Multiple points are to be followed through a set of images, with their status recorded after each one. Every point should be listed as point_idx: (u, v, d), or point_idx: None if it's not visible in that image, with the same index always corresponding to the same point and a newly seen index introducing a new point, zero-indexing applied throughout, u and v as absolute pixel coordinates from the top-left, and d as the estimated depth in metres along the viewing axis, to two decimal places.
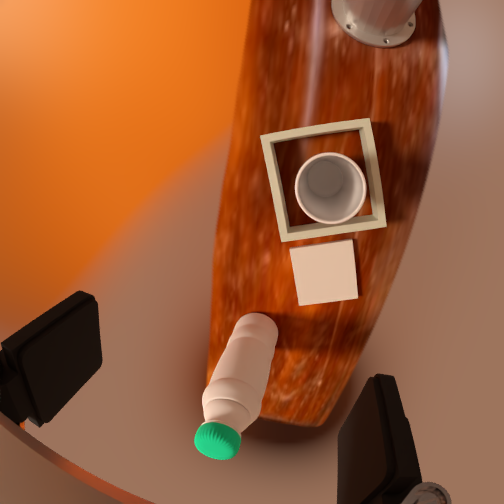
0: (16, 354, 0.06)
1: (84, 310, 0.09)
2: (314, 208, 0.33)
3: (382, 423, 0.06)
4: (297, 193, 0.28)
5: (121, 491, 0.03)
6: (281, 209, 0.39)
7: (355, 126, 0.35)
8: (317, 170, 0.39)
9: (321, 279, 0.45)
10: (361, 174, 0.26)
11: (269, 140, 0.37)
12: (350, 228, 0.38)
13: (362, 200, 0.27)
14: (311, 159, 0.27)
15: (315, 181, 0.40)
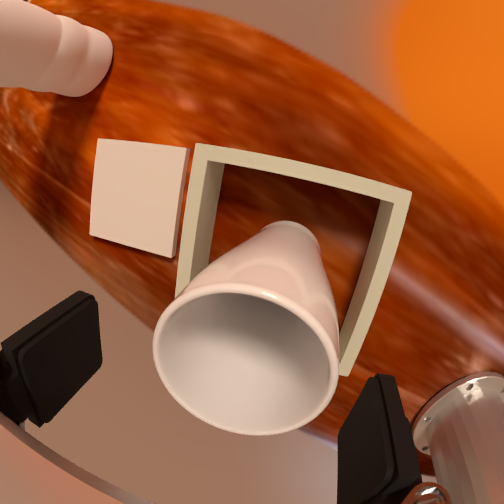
0: (16, 354, 0.06)
1: (84, 310, 0.09)
2: None
3: (382, 423, 0.06)
4: (258, 295, 0.09)
5: (121, 491, 0.03)
6: (256, 165, 0.19)
7: (346, 353, 0.21)
8: None
9: (124, 186, 0.24)
10: (248, 433, 0.11)
11: (396, 204, 0.18)
12: (183, 276, 0.22)
13: (192, 411, 0.11)
14: (334, 367, 0.09)
15: None
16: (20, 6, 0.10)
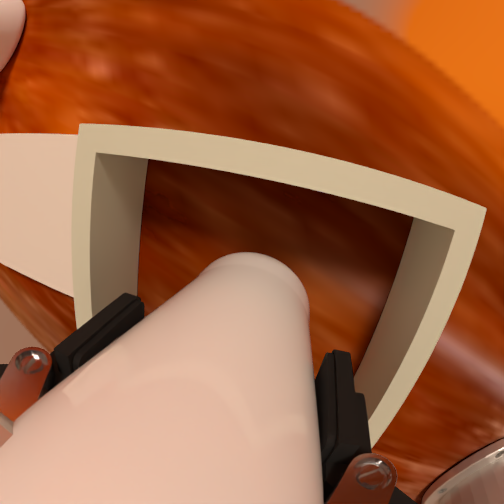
0: (71, 359, 0.06)
1: (133, 312, 0.09)
2: None
3: (330, 393, 0.07)
4: None
5: None
6: (177, 156, 0.09)
7: None
8: None
9: (25, 198, 0.14)
10: None
11: (458, 232, 0.08)
12: None
13: None
14: None
15: None
16: None
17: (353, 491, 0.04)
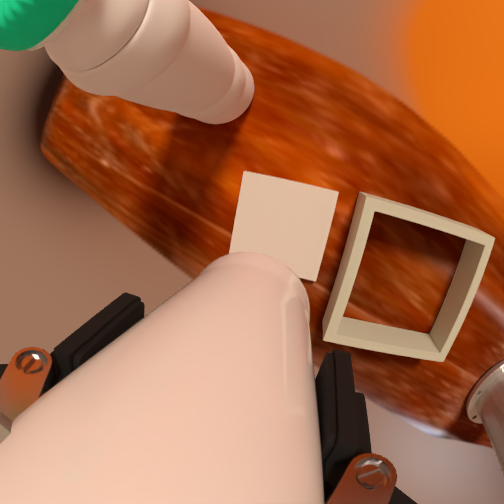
0: (71, 359, 0.06)
1: (133, 312, 0.09)
2: None
3: (330, 393, 0.07)
4: None
5: None
6: (409, 218, 0.24)
7: (445, 345, 0.26)
8: None
9: (274, 219, 0.29)
10: None
11: (485, 246, 0.23)
12: (342, 298, 0.27)
13: None
14: None
15: None
16: (215, 28, 0.15)
17: (353, 491, 0.04)
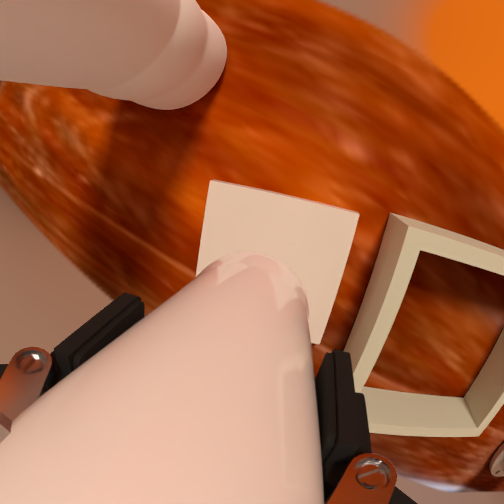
0: (71, 359, 0.06)
1: (133, 312, 0.09)
2: None
3: (330, 393, 0.07)
4: None
5: None
6: (469, 260, 0.13)
7: (485, 419, 0.16)
8: None
9: None
10: None
11: None
12: (359, 377, 0.17)
13: None
14: None
15: None
16: None
17: (353, 491, 0.04)
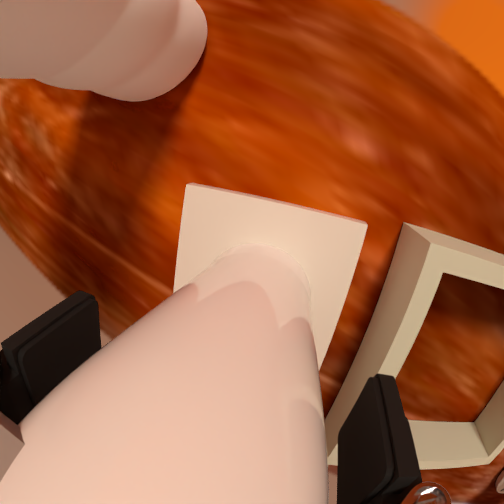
0: (16, 354, 0.06)
1: (84, 310, 0.09)
2: None
3: (382, 423, 0.06)
4: None
5: None
6: (498, 283, 0.10)
7: (497, 447, 0.13)
8: None
9: None
10: None
11: None
12: None
13: None
14: None
15: None
16: None
17: None
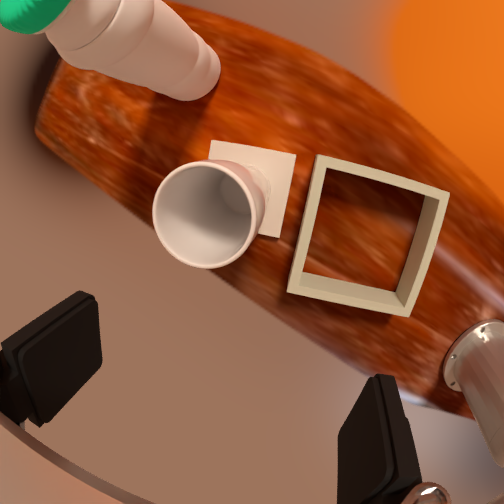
0: (16, 354, 0.06)
1: (84, 310, 0.09)
2: (195, 173, 0.22)
3: (382, 423, 0.06)
4: (208, 165, 0.17)
5: (121, 491, 0.03)
6: (360, 173, 0.27)
7: (409, 299, 0.30)
8: None
9: None
10: (208, 266, 0.19)
11: (440, 200, 0.26)
12: (302, 249, 0.30)
13: (174, 254, 0.19)
14: (251, 205, 0.18)
15: None
16: (178, 17, 0.18)
17: None
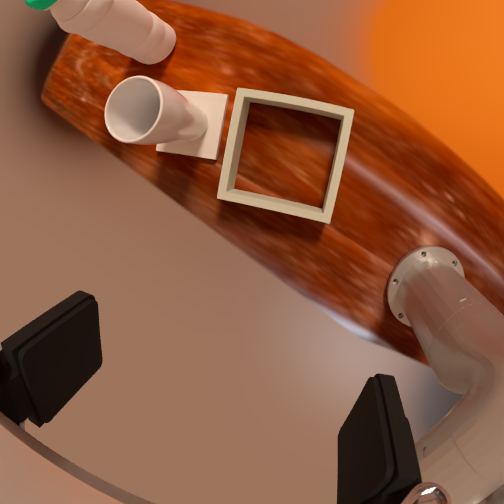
0: (16, 354, 0.06)
1: (84, 310, 0.09)
2: (140, 96, 0.29)
3: (382, 423, 0.06)
4: (138, 77, 0.24)
5: (121, 491, 0.03)
6: (270, 98, 0.33)
7: (326, 205, 0.36)
8: None
9: None
10: (134, 140, 0.26)
11: (345, 116, 0.32)
12: (227, 160, 0.36)
13: (114, 135, 0.26)
14: (160, 96, 0.24)
15: None
16: (135, 1, 0.24)
17: None
